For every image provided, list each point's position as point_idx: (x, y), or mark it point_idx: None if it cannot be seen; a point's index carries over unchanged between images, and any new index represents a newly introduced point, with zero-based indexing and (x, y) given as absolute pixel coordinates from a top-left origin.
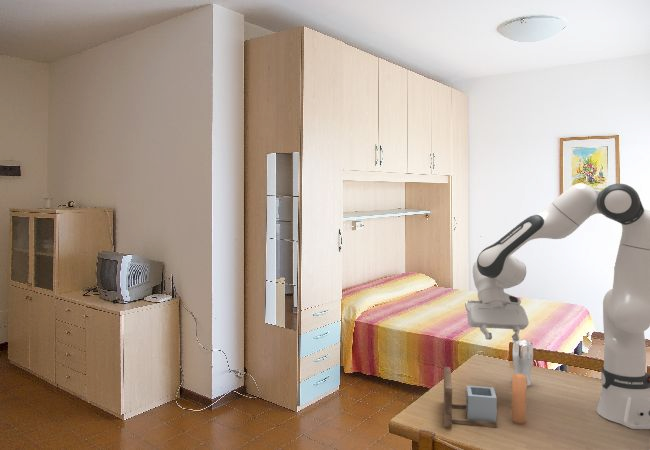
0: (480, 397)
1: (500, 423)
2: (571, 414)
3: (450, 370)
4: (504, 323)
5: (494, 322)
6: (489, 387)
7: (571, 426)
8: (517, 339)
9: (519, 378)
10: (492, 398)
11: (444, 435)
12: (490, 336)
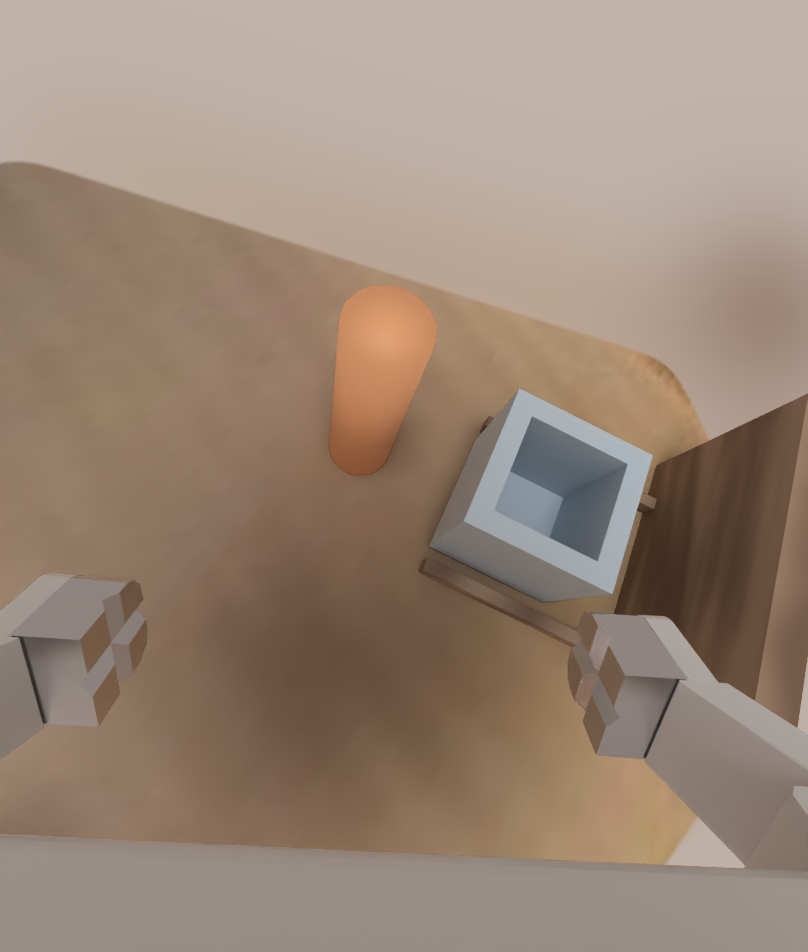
0: (593, 427)
1: (450, 447)
2: (56, 428)
3: (758, 684)
4: (210, 855)
5: (634, 902)
6: (489, 525)
7: (167, 338)
8: (93, 579)
9: (413, 297)
10: (537, 400)
11: (696, 426)
12: (626, 620)
